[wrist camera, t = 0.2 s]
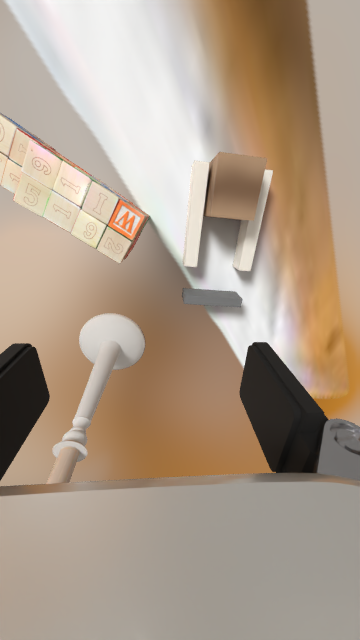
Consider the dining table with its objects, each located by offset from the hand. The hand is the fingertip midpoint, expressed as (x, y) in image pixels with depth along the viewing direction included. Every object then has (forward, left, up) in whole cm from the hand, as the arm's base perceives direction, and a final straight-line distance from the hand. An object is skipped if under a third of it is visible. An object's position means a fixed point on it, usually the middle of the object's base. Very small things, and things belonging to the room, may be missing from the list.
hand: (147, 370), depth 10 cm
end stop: (+6, +10, -31) cm, 33 cm away
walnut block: (-10, +10, -31) cm, 34 cm away
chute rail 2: (-6, +14, -31) cm, 34 cm away
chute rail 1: (-6, +5, -31) cm, 32 cm away
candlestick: (+18, -8, -31) cm, 37 cm away
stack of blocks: (-8, -12, -31) cm, 35 cm away
